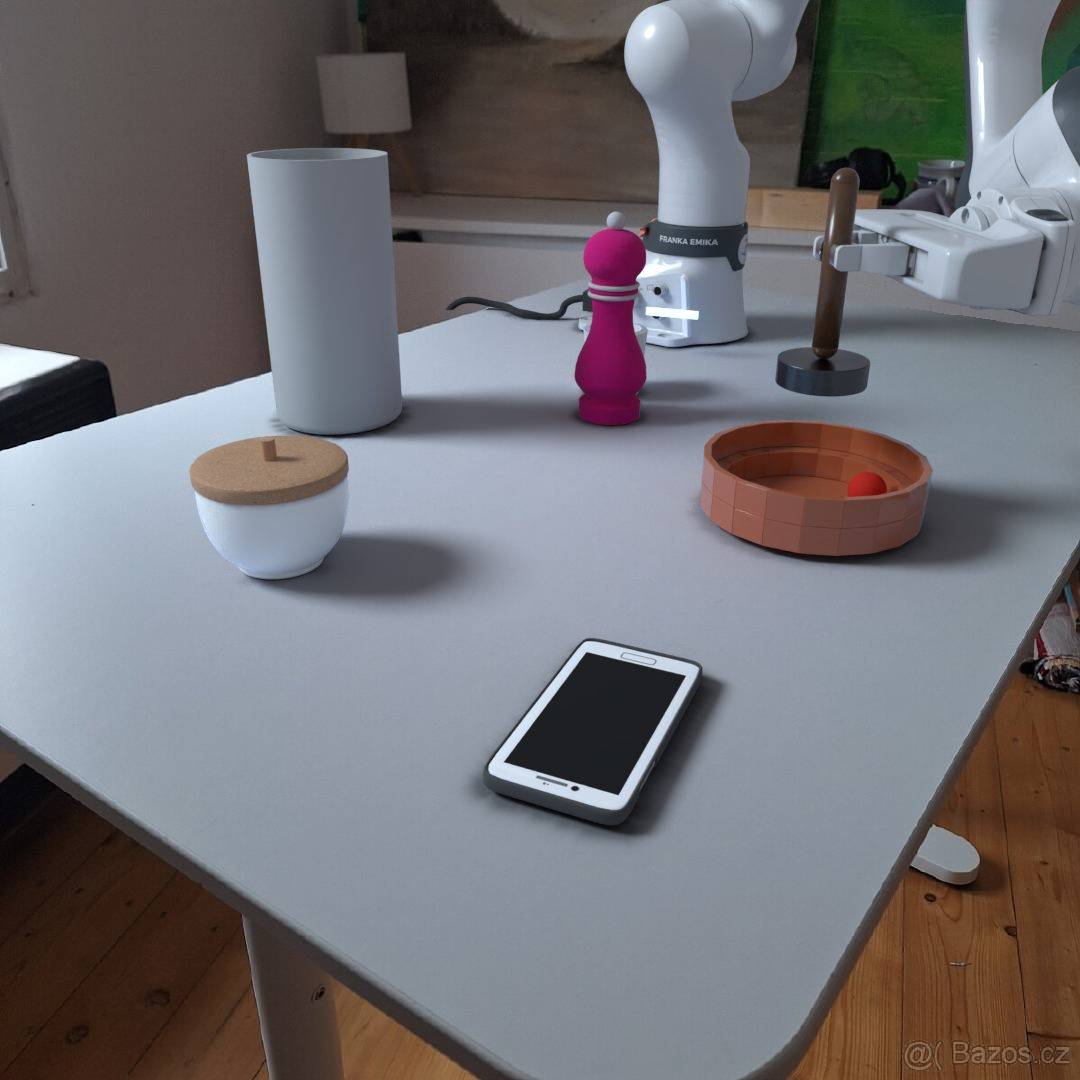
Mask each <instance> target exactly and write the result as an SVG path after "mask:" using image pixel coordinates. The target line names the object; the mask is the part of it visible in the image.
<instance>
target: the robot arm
mask: <svg viewBox="0 0 1080 1080" xmlns="http://www.w3.org/2000/svg"><path fill="white" fill-rule="evenodd" d="M809 2H810V0H666V1H662V2H660V3H657V4H654V5H651V6H649V7H646V8H645V9H644V10H642V11H641V12H640V13H639V14H638V15H637V16H636V17H635V19H634V20H633V22H632V23H631V25H630V26H629V28H628V32H627V34H626V38H625V42H624V49H623V51H624V52H623V58H624V66H625V70H626V74H627V76H628V79H629V81H630V82H631V84H632V86H633V87H634V88H635V89H636V90H637V92H639V94H640V95H641V96H642V98H643V100H644V101H645V103H646V105H647V108H648V111H649V113H650V115H651V116H650V117H651V121H652V123H653V127H654V131H655V137H656V141H657V143H656V144H657V148H658V157H659V162H658V163H659V168H658V169H659V172H658V173H659V174H658V176H659V177H658V203H657V205H658V206H657V207H658V208H657V217H656V218H653V219H652V220H651V221H650V222H648V223H647V224H644V225H643V227H640V228H638V231H641V232H640V233H639V234H638V237H639V238H642V242H643V244H644V246H645V249H646V265H645V267H644V269H643V271H642V272H641V273H640V274H639V275H638V277H637V278H636V281H638V282H639V283H640V287H639V288H638V292H639V297H638V298H636V299H635V301H634V307H633V323H637V324H640V325H643V326H645V327H646V328H647V329H648V333H647V340H646V344H652V345H657V346H662V347H666V348H678V347H684V346H685V347H686V346H692V345H708V344H722V343H728V342H733V341H737V340H740V339H742V338H745V337H747V335H748V334H749V329H748V324H747V319H746V314H745V313H746V311H745V304H744V287H743V286H744V284H743V282H744V281H743V272H744V271H743V268H745V265H746V261H747V257H748V246H749V223H748V222H747V221H746V216H747V205H748V193H749V183H750V181H749V180H750V171H751V170H750V169H751V157H750V154H749V152H748V150H747V148H746V147H745V146H744V145H743V144H742V142H741V141H740V139H739V135H738V133H737V131H736V126H735V121H734V117H733V106H732V102H743V101H750V100H752V99H755V98H757V97H760V96H762V95H765V94H767V93H769V92H771V91H773V90H775V89H776V88H778V87H780V86H781V85H782V84H783V83H784V82H785V81H786V79H788V77H789V75H790V74H791V72H792V70H793V67H794V66H795V62H796V59H797V52H798V42H797V32H798V28H799V25H800V23H801V20H802V18H803V15H804V13H805V10H806V8H807V6H808V4H809ZM964 2H965V5H964V19H963V77H964V104H965V132H966V151H965V152H966V153H965V161H964V165H963V169H962V172H961V175H960V178H959V181H958V184H957V186H956V187H957V188H956V191H955V197H954V209H955V211H954V212H952V214H951V215H950V216H947V215H943V214H939V213H936V212H931V211H927V210H926V211H925V210H917V209H916V210H915V209H890V208H889V209H886V208H884V209H883V208H881V209H880V208H879V209H877V208H875V209H874V208H873V209H872V208H871V209H869V208H868V209H867V208H864V209H861V208H858V209H857V208H856V214H855V222H854V230H853V237H852V243H836V244H834V245H833V246H832V247H831V250H830V258H829V264H830V266H831V267H833V268H835V269H836V270H838V271H841V272H842V271H848V272H861V273H866V274H867V273H868V274H873V275H874V274H875V275H881V276H885V277H887V278H890V279H892V280H894V281H895V282H896V281H897V282H898V283H901V284H903V285H905V286H907V287H909V288H911V289H913V290H915V291H918V292H919V293H921V294H923V295H926V296H929V297H931V298H933V299H935V300H937V301H938V302H941V303H946V304H950V305H956V306H960V307H961V306H962V307H968V308H970V309H972V310H978V311H982V310H984V311H985V310H994V311H1013V312H1016V313H1020V314H1023V315H1027V316H1031V317H1052V316H1053V317H1054V316H1056V315H1058V313H1059V310H1060V307H1061V304H1062V303H1067V304H1072V305H1075V306H1078V307H1080V65H1078V66H1076V67H1073V68H1071V69H1069V70H1067V71H1066V72H1065V73H1064V74H1063V75H1061V77H1060V78H1059V79H1058V80H1057V81H1056V82H1054V84H1052V85H1051V86H1050V87H1049V89H1048V90H1046V91H1045V92H1044V93H1043V73H1042V72H1043V71H1042V56H1043V49H1044V45H1045V40H1046V37H1047V34H1048V30H1049V28H1050V25H1051V23H1052V20H1053V17H1054V15H1055V13H1056V11H1057V10H1058V7H1059V5H1060V3H1061V2H1062V0H965V1H964ZM824 236H825V235H818V236H817V237H815V239H814V241H813V249H812V257H813V259H815V260H816V261H819V262H822V254H823V245H824ZM588 291H589V287H588V288H586V289H585V290H584V291H582V294H577V295H572V296H570V297H568V298H566V299H564V300H563V301H562V302H561V304H560V305H559V309H558V310H557V311H555V312H550V313H549V312H548V313H546V312H545V313H544V312H538V311H533V310H529V309H523V308H518V307H516V306H514V305H513V304H510V303H507V302H503V301H496V300H492V299H487V298H483V297H478V296H463V297H459V298H457V299H455V300H453V301H452V302H450V303H449V304H448V305H447V306H446V307H445V310H446V311H454V310H455V309H457V308H458V307H460V306H463V305H465V304H466V305H467V304H474V305H479V306H483V307H484V306H485V307H490V308H493V309H499V310H504V311H507V312H509V313H510V314H512V315H515V316H520V317H524V318H530V319H533V320H538V321H554V320H558V319H561V318H563V317H564V316H565V315H566V312H567V310H568V308H569V306H571V305H573V304H578V303H582V309H581V311H582V312H585V313H583V314H582V315H581V316H580V317H579V319H578V325H577V327H578V329H579V330H581V331H584V327H585V326H586V325H588V324H591V323H592V314H593V307H592V298H591V297H589V296H588Z"/></svg>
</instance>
